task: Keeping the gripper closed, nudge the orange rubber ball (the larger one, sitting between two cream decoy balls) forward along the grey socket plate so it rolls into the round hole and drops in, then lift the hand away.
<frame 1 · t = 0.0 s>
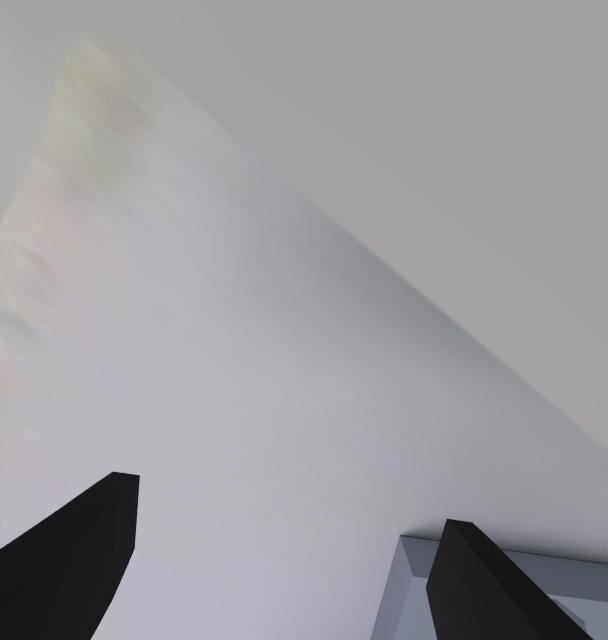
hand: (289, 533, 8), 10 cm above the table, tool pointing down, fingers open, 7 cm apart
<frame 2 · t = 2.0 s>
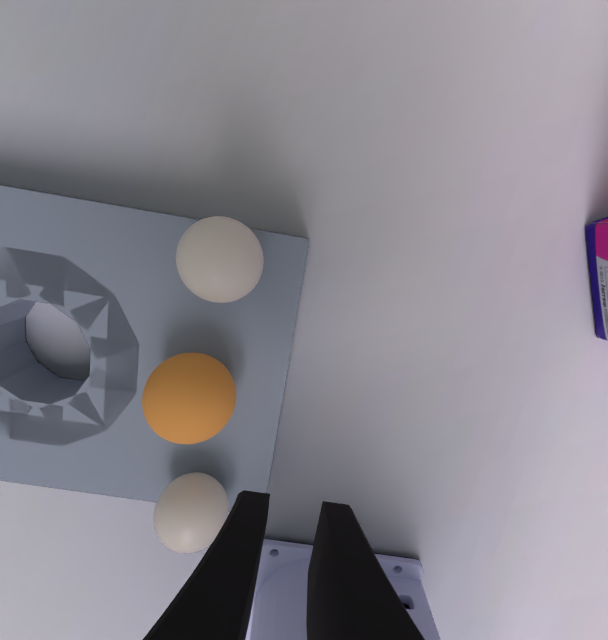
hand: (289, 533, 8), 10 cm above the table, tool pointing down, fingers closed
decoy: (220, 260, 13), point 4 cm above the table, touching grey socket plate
grey socket plate: (134, 346, 18), on the table
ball: (190, 397, 14), point 4 cm above the table, touching grey socket plate
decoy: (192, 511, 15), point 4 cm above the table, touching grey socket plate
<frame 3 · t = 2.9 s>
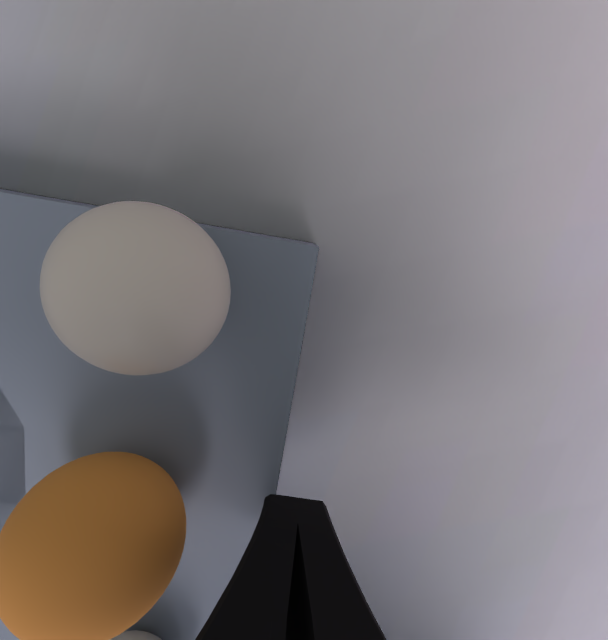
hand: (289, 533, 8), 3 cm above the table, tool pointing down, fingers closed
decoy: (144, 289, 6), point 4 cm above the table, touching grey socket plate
grey socket plate: (43, 411, 11), on the table
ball: (99, 539, 7), point 4 cm above the table, touching grey socket plate
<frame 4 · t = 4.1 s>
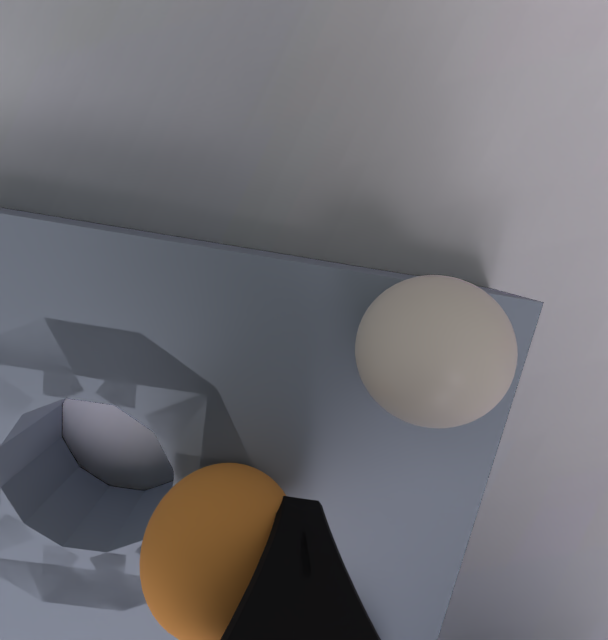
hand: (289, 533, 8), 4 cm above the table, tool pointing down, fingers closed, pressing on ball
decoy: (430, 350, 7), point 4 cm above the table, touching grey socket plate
grey socket plate: (220, 442, 12), on the table
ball: (223, 544, 8), point 4 cm above the table, tilted 105°, touching grey socket plate, gripper
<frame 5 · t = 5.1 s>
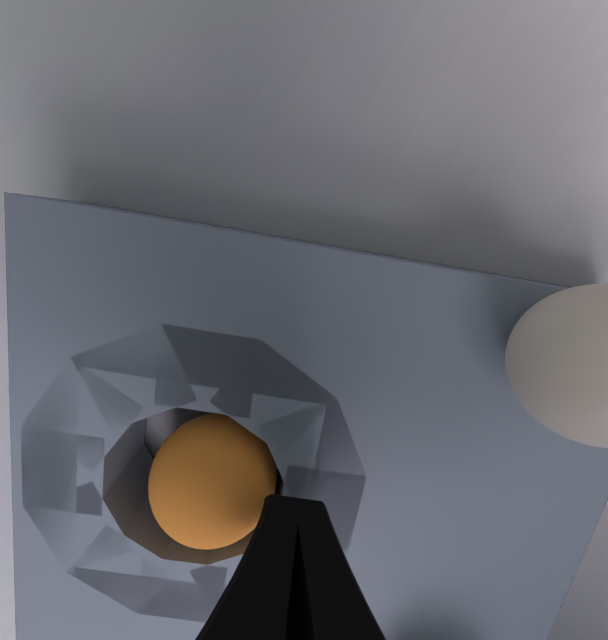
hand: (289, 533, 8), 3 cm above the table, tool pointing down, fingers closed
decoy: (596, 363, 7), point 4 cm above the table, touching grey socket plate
grey socket plate: (308, 450, 12), on the table
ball: (215, 476, 10), point 2 cm above the table, tilted 173°
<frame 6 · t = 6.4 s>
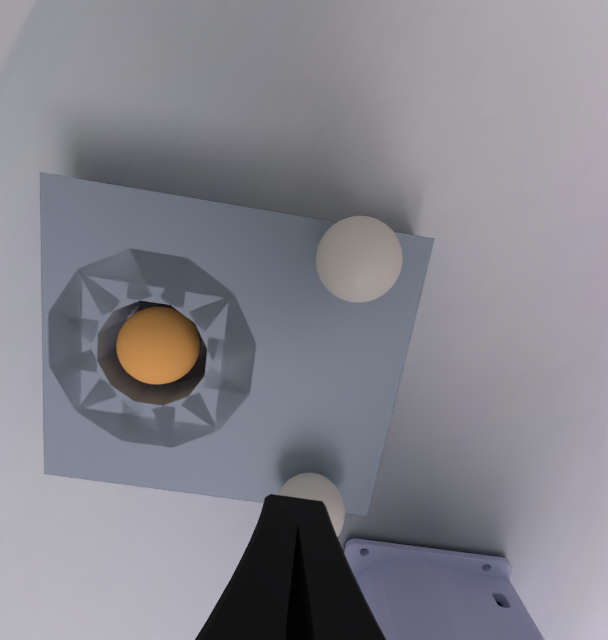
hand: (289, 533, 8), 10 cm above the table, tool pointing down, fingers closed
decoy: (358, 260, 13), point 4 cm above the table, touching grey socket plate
grey socket plate: (234, 346, 18), on the table
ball: (160, 345, 16), point 2 cm above the table, tilted 167°
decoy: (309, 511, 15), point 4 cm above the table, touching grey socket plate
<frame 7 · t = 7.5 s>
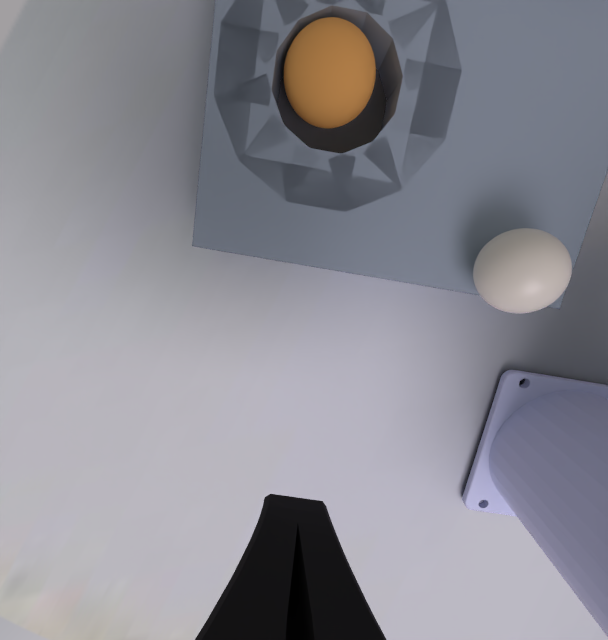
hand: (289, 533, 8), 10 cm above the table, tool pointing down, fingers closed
grey socket plate: (401, 119, 15), on the table
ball: (329, 76, 13), point 2 cm above the table, tilted 153°
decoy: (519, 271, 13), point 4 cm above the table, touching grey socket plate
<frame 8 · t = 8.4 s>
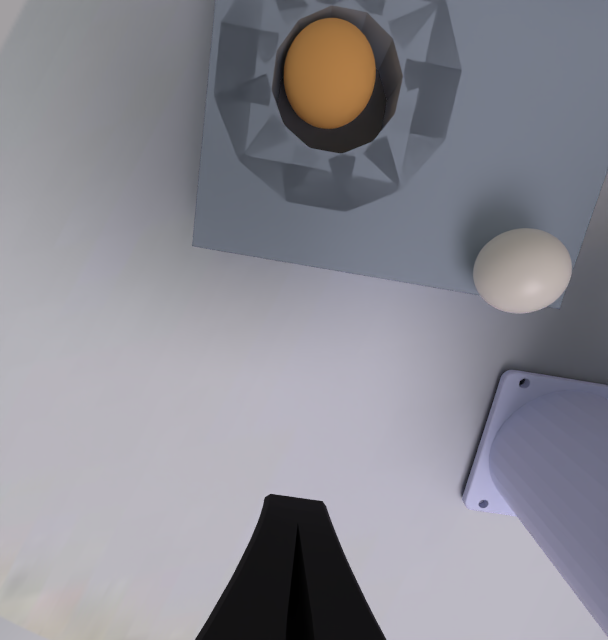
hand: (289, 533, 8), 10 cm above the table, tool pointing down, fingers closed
grey socket plate: (401, 119, 15), on the table
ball: (329, 77, 13), point 2 cm above the table, tilted 154°
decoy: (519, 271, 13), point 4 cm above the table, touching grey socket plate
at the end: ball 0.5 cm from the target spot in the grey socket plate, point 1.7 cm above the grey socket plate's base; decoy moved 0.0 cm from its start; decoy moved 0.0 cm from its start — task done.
